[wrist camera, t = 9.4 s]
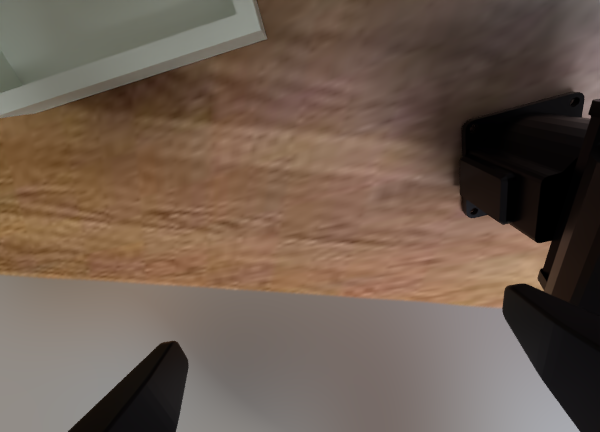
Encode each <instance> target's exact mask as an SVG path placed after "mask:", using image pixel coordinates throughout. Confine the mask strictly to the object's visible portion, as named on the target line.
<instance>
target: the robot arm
mask: <svg viewBox="0 0 600 432" xmlns="http://www.w3.org/2000/svg"><path fill="white" fill-rule="evenodd" d="M572 99H573V103H572V104H571V105H570V102H571V100H572ZM583 105H584V95H583V94H582V93H580V92H569V93H566V94H562V95H558V96H555V97H551V98H547V99H543V100H540V101H536V102H532V103H529V104H525V105H521V106H518V107H514V108H510V109H506V110H503V111H499V112H495V113H492V114H488V115H484V116H480V117H477V118H473V119H470V120H468V121H466V122H465V123H464V125H463V126H462V157H461V159H460V195H461V196H462V197H463V212H464V214H465V215H467V216H468V217H469V218H476V217H480V216H484V215H489V216H491V217H492V218H493V219H495V220H496V221H498V222H499V223H501V224H503V225H505V224H510V225H512V226H513V227H515V228H516V229H518V230H519V231H521V232H522V233H524V234H525V235H527V236H528V237H530V238H531V239H532V240H534V241H535V242H537V243H542V242H547V241H552V242H551V245H550V249H549V252H548V255H547V258H546V261H545V264H544V268H542V269H540V271H539V275H538V281H539V282H540V284H541V286H542V288H543V289H544V291H541V290H539V289H537V288H534V287H532V286H530V285H527V284H515V285H509V286H507V287H506V288H505V291H504V300H503V308H502V309H503V315H504V317H505V319H506V321H507V323H508V324H509V326H510V328H511V329H512V331H513V333H514V334H515V336H516V337H517V339H518V341H519V343H520V344H521V346H522V348H523V349H524V351H525V353H526V354H527V355H528V358H529V359H530V361H531V362H532V364H533V366H534V368H535V369H536V371H537V372H538V374H539V375H540V377H541V378H542V380H543V381H544V383H545V384H546V386H547V387H548V388H549V390H550V391H551V392H552V394H553V395H554V397H555V398H556V399H557V401H558V402H559V403H560V405H561V406H562V408H563V409H564V410H565V412H566V413H567V414H568V416H569V417H570V418H571V420H572V421H573V422H574V424H575V425H576V426H577V428H578V429H579V431H580V432H600V99H595V100H593V101H592V104H591V107H590V110H589V113H588V115H591V119H589V118H582V111H583ZM472 125H475V128H474V130H473V131H472V132H470V127H471V126H472ZM473 208H475V209H474V211H472V212H470V211H471V210H472V209H473ZM187 372H188V359H187V357H186V355H185V354H184V352H183V350H182V349H181V347H180V345H179V344H178V342H176V341H170V342H163V343H161V344H160V345H159V346H157V347H156V349H154V350H153V351H152V352H151V353H150V354H149V355H148V356H147V357H146V358H145V359H144V360H143V361H142V362H141V363H139V365H137V366H136V367H135V368H134V369H133V370H132V371H131V372H130V373H129V374H128V375H127V376H126V377H125V378H124V379H123V380H122V381H121V382H119V383H118V384H117V385H116V386H115V387H114V388H113V389H112V390H111V391H110V392H109V393H108V394H107V395H106V396H105V397H104V398H103V399H102V400H101V401H99V402H98V403H97V404H96V405H95V406H94V407H93V408H92V409H91V410H90V411H89V412H88V413H87V414H86V415H85V416H84V417H83V418H82V419H81V420H80V421H78V422H77V423H76V424H75V425H74V426H73V427H72V428H71V429H70V430H69V431H68V432H176V428H177V424H178V420H179V415H180V409H181V404H182V399H183V393H184V388H185V383H186V377H187Z"/></svg>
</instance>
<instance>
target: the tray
mask: <svg viewBox="0 0 600 432" xmlns="http://www.w3.org/2000/svg"><path fill="white" fill-rule="evenodd" d="M266 39H267V36H266V33H265V29H264V25H263V22H262V18H261V14H260V11H259V7H258V3H257V0H0V118H4V117H12V116H20V115H27V114H35V113H38V112H42V111H45V110H48V109H51V108H54V107H57V106H60V105H63V104H66V103H70V102H73V101H76V100H79V99H82V98H85V97H88V96H91V95H94V94H98V93H101V92H104V91H107V90H110V89H113V88H116V87H119V86H122V85H126V84H129V83H132V82H135V81H138V80H141V79H144V78H147V77H151V76H154V75H157V74H160V73H163V72H166V71H169V70H172V69H175V68H179V67H182V66H185V65H188V64H191V63H194V62H197V61H200V60H203V59H207V58H210V57H213V56H216V55H219V54H222V53H225V52H228V51H231V50H235V49H238V48H241V47H244V46H247V45H250V44H253V43H256V42H259V41H263V40H266Z"/></svg>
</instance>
